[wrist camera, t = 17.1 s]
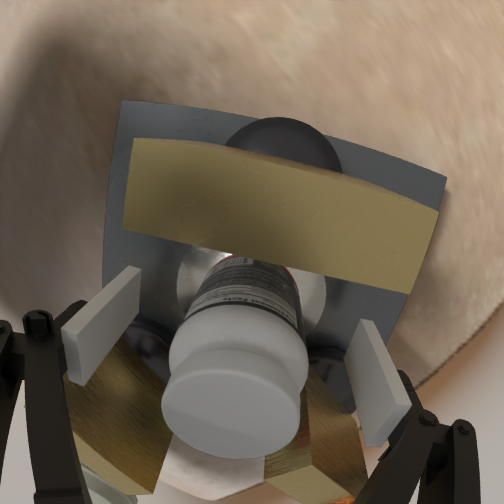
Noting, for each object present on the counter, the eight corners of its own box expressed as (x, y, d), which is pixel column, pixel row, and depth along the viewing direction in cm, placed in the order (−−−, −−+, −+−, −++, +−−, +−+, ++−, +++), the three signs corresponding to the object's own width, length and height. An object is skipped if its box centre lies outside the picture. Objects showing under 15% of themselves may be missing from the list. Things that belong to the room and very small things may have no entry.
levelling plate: (114, 354, 24) (99, 376, 21) (135, 103, 18) (112, 97, 15) (340, 404, 24) (345, 431, 21) (432, 173, 18) (457, 179, 15)
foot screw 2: (196, 217, 18) (118, 294, 9) (218, 107, 16) (150, 62, 6) (332, 249, 18) (383, 352, 9) (361, 141, 16) (457, 140, 6)
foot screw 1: (85, 327, 21) (12, 411, 12) (140, 292, 20) (59, 390, 10) (150, 399, 23) (108, 495, 14) (210, 376, 22) (178, 492, 12)
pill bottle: (274, 347, 20) (270, 479, 10) (191, 314, 19) (134, 436, 10) (315, 271, 18) (348, 393, 8) (222, 233, 18) (164, 328, 8)
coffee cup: (76, 365, 25) (12, 451, 14) (152, 370, 25) (97, 482, 13) (108, 424, 28) (66, 506, 17) (179, 432, 27) (148, 531, 16)
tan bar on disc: (246, 365, 21) (226, 497, 11) (326, 322, 20) (358, 458, 10) (303, 424, 23) (308, 537, 13) (374, 391, 21) (407, 505, 11)
